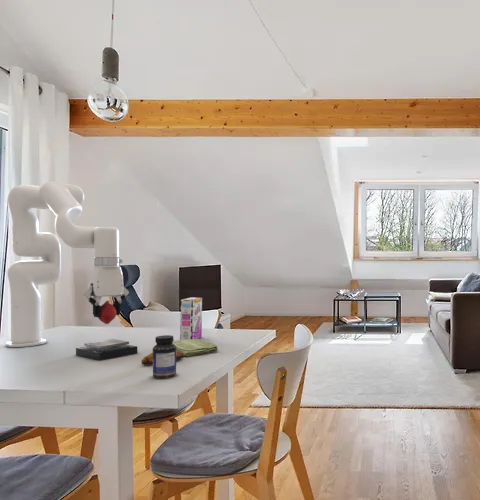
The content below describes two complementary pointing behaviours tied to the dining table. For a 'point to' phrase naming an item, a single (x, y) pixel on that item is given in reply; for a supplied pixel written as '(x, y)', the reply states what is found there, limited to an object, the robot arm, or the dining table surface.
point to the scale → (106, 352)
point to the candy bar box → (191, 318)
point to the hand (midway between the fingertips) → (106, 315)
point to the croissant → (149, 358)
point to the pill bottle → (164, 357)
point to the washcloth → (194, 347)
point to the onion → (107, 312)
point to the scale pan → (106, 343)
